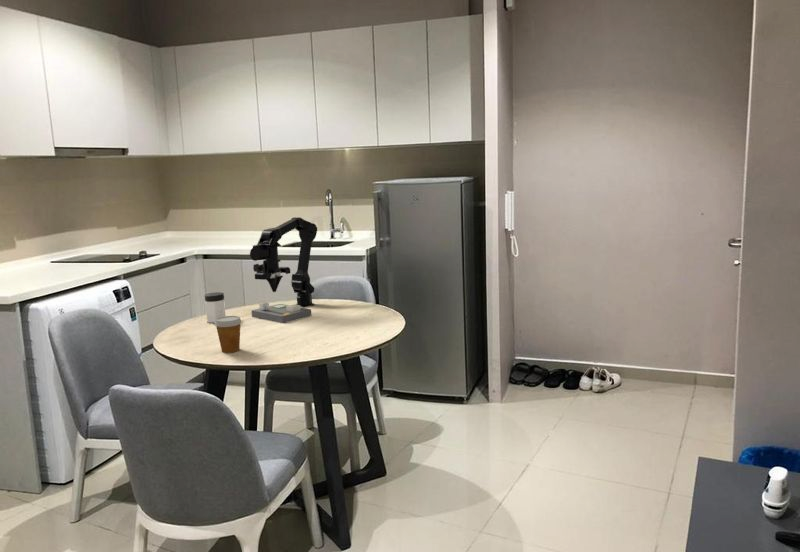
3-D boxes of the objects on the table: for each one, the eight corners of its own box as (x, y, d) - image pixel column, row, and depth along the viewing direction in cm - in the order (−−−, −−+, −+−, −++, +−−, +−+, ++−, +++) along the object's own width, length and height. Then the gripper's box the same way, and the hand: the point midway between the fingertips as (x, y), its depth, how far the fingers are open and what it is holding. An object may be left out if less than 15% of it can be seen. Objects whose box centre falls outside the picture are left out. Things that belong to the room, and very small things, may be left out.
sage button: (280, 310, 300) (280, 304, 300) (286, 311, 297) (286, 305, 297) (272, 311, 297) (272, 306, 296) (278, 313, 294) (278, 307, 293)
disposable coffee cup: (246, 346, 245) (243, 314, 243) (241, 353, 236) (238, 320, 234) (220, 347, 245) (217, 316, 243) (214, 354, 235) (211, 322, 233)
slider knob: (265, 308, 294) (264, 301, 293) (269, 308, 292) (268, 302, 291) (259, 309, 292) (259, 302, 291) (263, 310, 290) (263, 303, 289)
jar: (211, 324, 283) (209, 296, 281) (202, 321, 289) (200, 294, 287) (230, 320, 289) (228, 293, 287) (221, 317, 295) (218, 291, 293)
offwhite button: (294, 309, 293) (294, 304, 293) (300, 310, 290) (300, 305, 290) (286, 311, 290) (286, 306, 290) (292, 312, 287) (292, 307, 287)
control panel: (280, 310, 305) (280, 303, 304) (311, 315, 290) (311, 308, 290) (251, 317, 293) (251, 310, 293) (282, 323, 278) (282, 316, 278)
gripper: (270, 254, 305) (273, 287, 307) (243, 260, 288) (246, 295, 291) (290, 255, 299) (292, 288, 302) (263, 260, 283) (266, 296, 286)
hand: (274, 292), depth 295 cm, fingers closed
